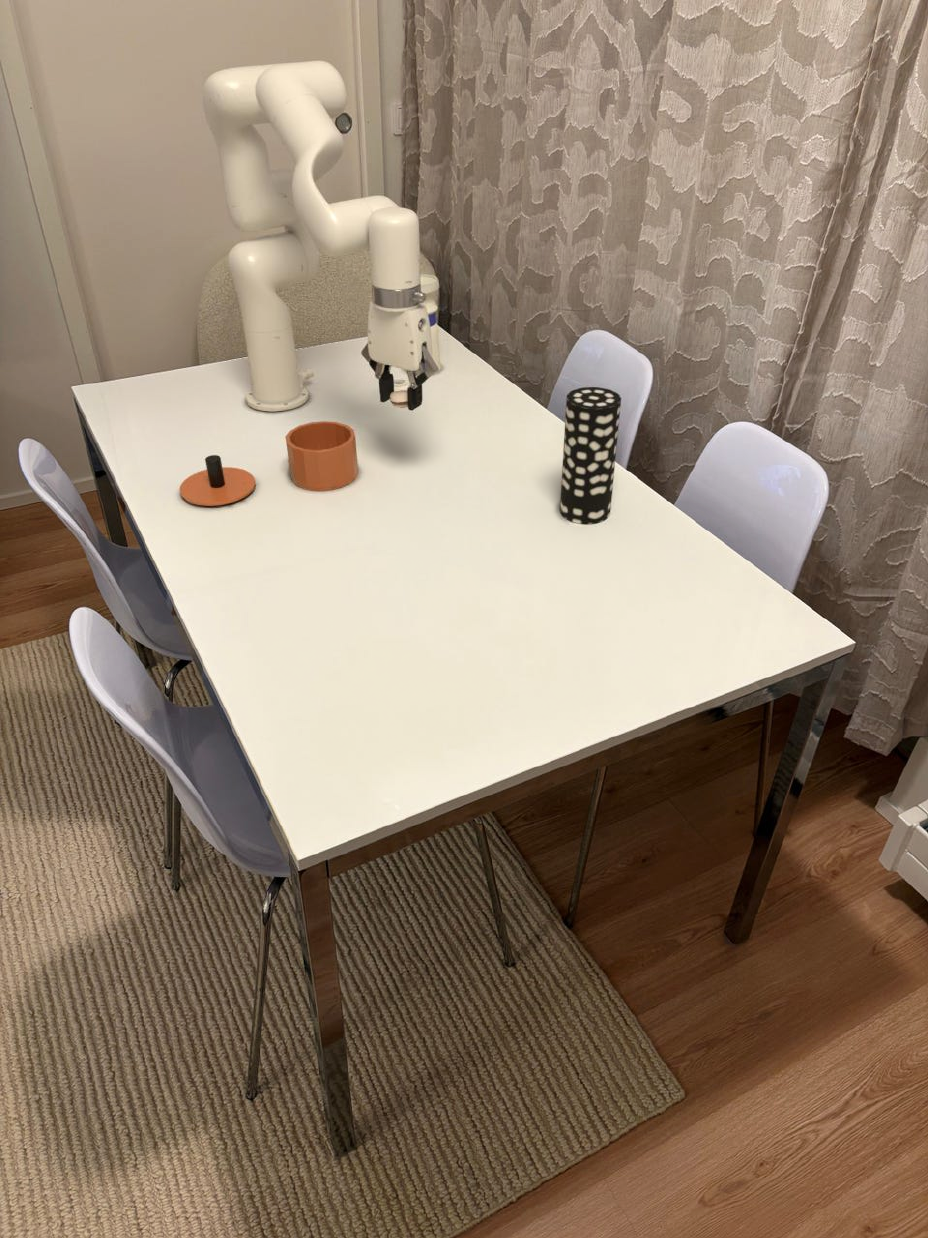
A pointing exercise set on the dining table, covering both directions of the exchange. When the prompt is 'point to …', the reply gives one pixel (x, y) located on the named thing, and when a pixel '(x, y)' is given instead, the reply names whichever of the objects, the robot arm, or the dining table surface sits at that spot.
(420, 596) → the dining table surface
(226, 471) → the lid
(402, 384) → the white jar
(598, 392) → the white-spotted black cylinder
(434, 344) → the water bottle
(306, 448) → the orange hollow cylinder
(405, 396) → the macaroon
